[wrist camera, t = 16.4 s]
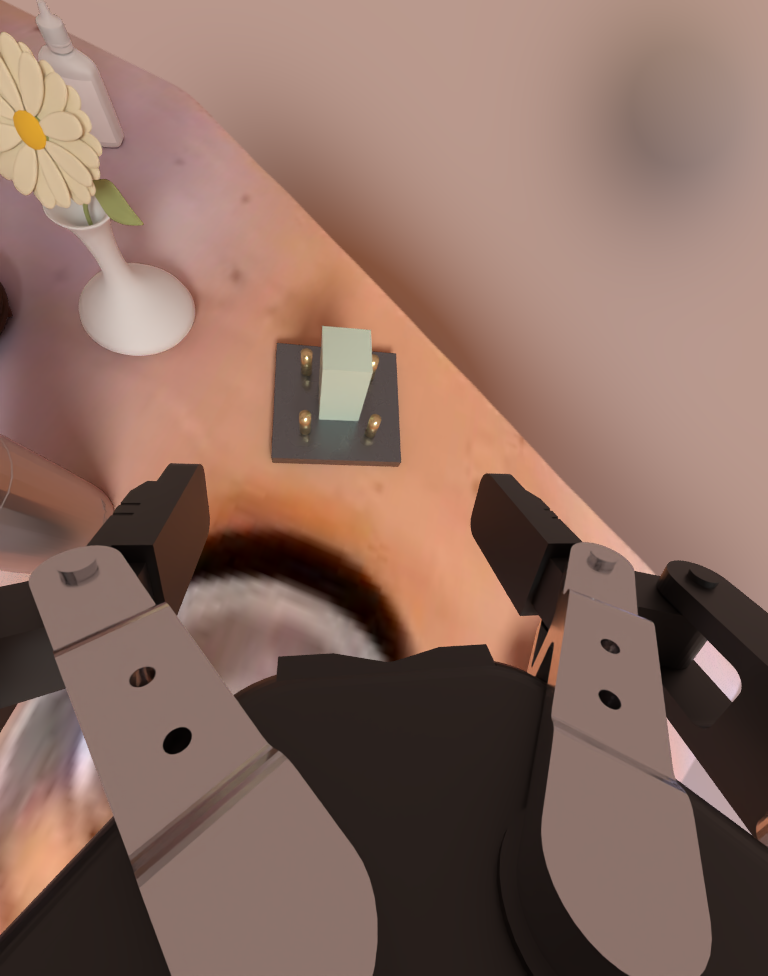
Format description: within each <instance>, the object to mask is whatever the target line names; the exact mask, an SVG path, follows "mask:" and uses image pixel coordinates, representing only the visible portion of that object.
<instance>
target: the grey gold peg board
mask: <svg viewBox="0 0 768 976" xmlns="http://www.w3.org/2000/svg"><path fill="white" fill-rule="evenodd" d="M320 356H321V347H316V346H304V345H293V344H282V343H277V354H276V375H275V395H274V416H273V437H272V457H271V458H272V462H273V463H299V464H330V465H361V466H393V467H398V466H399V465H400V463H401V452H400V430H399V408H398V387H397V365H396V354H394V353H383V352H372V367H373V373H372V377H371V380H370V383H369V387H368V390H367V393H366V397H365V400H364V404H363V407H362V410H361V414H360V417H359V420H358V421H345V420H320V419H319V372H320Z"/></svg>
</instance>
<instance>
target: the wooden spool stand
mask: <svg viewBox="0 0 768 976" xmlns="http://www.w3.org/2000/svg"><path fill="white" fill-rule="evenodd" d="M12 316H13V314H12V311H11V309H10V308H9V305H8V298H7V295H6V292H5V290H4V288H3V286H2V284H1V283H0V334H1V332H2V331H3V329H4V326H5V324H6V321H7V317H8V318H10V317H12Z"/></svg>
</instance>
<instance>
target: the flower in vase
mask: <svg viewBox="0 0 768 976" xmlns="http://www.w3.org/2000/svg"><path fill="white" fill-rule="evenodd" d="M80 109H81V99H80V96H79V94H78V93H77V91H76V90H75V89H74V88H73V87H72V86H70V85H66V84H65V82H64V80H63V79H62V78H61V76H60V75H59V74H57V73H56V72H55V71H54V69H53V68H52V66H51V65H50V64H49V63H48V62H47V61H45V60H40V61H39V62H37V60H36V59H35V57H34V55H33V53H32V52H31V50H30V49H29V48H28V47H27V46H26V45H25V44H24V43H22V42H16V40H15V39H14V38H13V37H12V36H11V35H10V34H8V33H6V32H2V33H1V34H0V174H1V175H2V176H3V177H4V178H5V179H7V180H13V183H14V186H15V188H16V189H17V190H18V191H19V192H20V193H21V194H23V195H29V194H31V193H32V191H33V192H34V194H35V196H36V197H37V199H38V200H40V202H41V203H42V207H43V210H44V212H45V214H46V215H47V217H48V218H49V219H51V220H52V221H53V222H54V223H56V224H58V225H59V226H62V227H64V228H66V229H68V230H70V231H71V232H73V233H74V234H75V235H76V236H77V237H78V238H79V239H80V240H81V241H82V242H83V243H84V244H85V246H86V247H87V248H88V249H89V251H90V252H91V253H92V255H93V256H94V258H95V259H96V261H97V262H98V264H99V266H100V268H101V270H102V271H100V272H98V273H97V274H96V275H94V276H93V277H92V278H91V279H90V280H89V282H88V283H87V284H86V285H85V287H84V288H83V290H82V292H81V295H80V298H79V315H80V320H81V323H82V326H83V328H84V329H85V331H86V332H87V334H88V335H89V336H90V337H91V338H92V339H93V340H94V341H95V342H96V343H98V344H99V345H101V346H102V347H104V348H106V349H108V350H111V351H113V352H116V353H120V354H125V355H132V356H147V355H154V354H158V353H161V352H164V351H166V350H168V349H170V348H172V347H174V346H175V345H177V344H178V343H179V342H181V341H182V340H183V339H184V337H185V336H186V335H187V334H188V332H189V331H190V329H191V328H192V325H193V323H194V319H195V304H194V300H193V298H192V295H191V294H190V292H189V290H188V289H187V288H186V287H185V286H184V285H183V284H182V283H181V282H180V281H179V280H178V279H177V278H176V277H175V276H173V275H172V274H171V273H169V272H167V271H165V270H163V269H160V268H158V267H155V266H151V265H146V264H141V263H127V262H126V261H125V259H124V258H123V256H122V254H121V252H120V250H119V248H118V246H117V243H116V241H115V238H114V235H113V232H112V228H111V219H112V220H114V221H116V222H118V223H121V224H124V225H144V224H143V222H142V221H141V220H140V219H139V218H138V216H137V215H136V214H135V213H134V211H133V210H132V209H131V208H130V206H129V205H128V203H127V202H126V201H125V199H124V198H123V196H122V195H121V193H120V192H119V191H118V189H117V188H116V187H115V186H114V184H113V183H112V182H110V181H109V180H107V179H99V178H100V170H99V168H98V167H99V165H100V161H99V158H98V157H99V156H101V155H102V147H101V144H100V142H99V141H98V139H97V138H96V137H95V136H93V135H92V134H90V132H91V129H92V124H91V121H90V119H89V117H88V115H87V114H86V113H85V112H84V111H82V110H80ZM92 179H94V180H92Z"/></svg>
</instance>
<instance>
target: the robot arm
mask: <svg viewBox="0 0 768 976" xmlns="http://www.w3.org/2000/svg"><path fill="white" fill-rule="evenodd" d="M209 525H210V515H209V506H208V498H207V490H206V481H205V473H204V469H203V466H202V465H201V464H176V463H170V464H169V465H168V466H167V468H166V469H165V471H164V472H163V473H162V475H161V476H160V478H159V479H158V480H157V481H147V482H145V483H143V484H141V485H140V486H138V487H136V488H135V489H133V490H131V491H130V492H129V493H128V494H127V496H126V497H125V498H124V499H123V501H122V502H121V505H119V506H118V507H117V508H116V509H115V511H114V509H113V506H112V504H111V502H110V500H109V498H108V497H107V496H106V494H105V493H104V492H103V491H102V490H100V489H99V488H98V487H96V486H95V485H93V484H91V483H89V482H88V481H86V480H84V479H82V478H80V477H78V476H77V475H75V474H73V473H72V472H70V471H68V470H66V469H64V468H62V467H60V466H59V465H57V464H55V463H53V462H51V461H49V460H48V459H46V458H44V457H42V456H40V455H38V454H37V453H35V452H33V451H31V450H29V449H27V448H25V447H24V446H22V445H20V444H18V443H16V442H14V441H13V440H11V439H9V438H7V437H5V436H3V435H2V434H0V571H8V572H16V573H27V574H31V576H30V578H29V581H26V582H22V583H17V584H12V585H7V586H2V587H0V732H1V730H2V729H3V727H4V725H5V724H6V722H7V720H8V719H9V717H10V715H11V714H12V712H13V710H14V709H15V707H16V705H17V704H18V703H20V702H23V701H27V700H30V699H33V698H36V697H40V696H43V695H46V694H49V693H52V692H56V691H59V690H62V689H65V688H66V689H67V692H68V695H69V698H70V700H71V703H72V706H73V708H74V711H75V714H76V716H77V719H78V722H79V724H80V727H81V730H82V732H83V735H84V738H85V740H86V743H87V746H88V748H89V751H90V754H91V757H92V759H93V762H94V765H95V767H96V770H97V773H98V775H99V778H100V781H101V783H102V786H103V789H104V791H105V794H106V797H107V799H108V802H109V805H110V808H111V810H112V813H113V817H112V818H111V819H110V820H109V821H108V822H107V823H106V824H105V825H104V826H103V828H102V829H101V830H100V831H99V832H98V833H97V834H96V835H95V836H94V837H93V838H92V839H91V840H90V841H89V842H88V843H87V844H86V845H85V846H84V848H83V849H82V850H81V851H80V852H79V853H78V854H77V855H76V856H75V857H74V858H73V859H72V860H71V861H70V862H69V863H68V864H67V865H66V866H65V868H64V869H63V870H62V871H61V872H60V873H59V874H58V875H57V876H56V877H55V878H54V879H53V880H52V881H51V882H50V883H49V884H48V885H47V886H46V888H45V889H44V890H43V891H42V892H41V893H40V894H39V895H38V896H37V897H36V898H35V899H34V900H33V901H32V902H31V903H30V904H29V905H28V906H27V907H26V909H25V910H24V911H23V912H22V913H21V914H20V915H19V916H18V917H17V918H16V919H15V920H14V921H13V922H12V923H11V924H10V925H9V926H8V927H7V929H6V930H5V931H4V932H3V933H2V934H1V935H0V976H768V613H767V612H766V611H764V610H763V609H762V608H761V607H760V606H758V605H757V604H756V603H754V602H753V601H752V600H751V599H749V597H747V596H746V595H745V594H744V593H742V592H741V591H740V590H739V589H737V588H736V587H735V586H733V585H732V584H731V583H730V582H728V581H727V580H726V579H725V578H723V577H722V576H720V575H719V574H717V573H715V572H713V571H712V570H710V569H707V568H705V567H703V566H700V565H698V564H695V563H691V562H686V561H671V562H669V563H668V564H667V566H666V568H665V569H664V571H663V573H662V574H661V576H656V575H651V574H646V573H641V572H637V571H634V568H633V566H632V565H631V563H630V562H629V561H628V560H627V559H626V558H624V557H623V556H622V555H620V554H619V553H617V552H616V551H614V550H612V549H610V548H607V547H605V546H602V545H599V544H595V543H588V542H582V541H581V540H580V539H579V538H578V537H577V536H576V535H575V534H574V533H573V532H572V531H571V530H570V529H569V528H568V527H567V526H566V525H565V524H564V523H563V522H562V521H561V520H560V519H558V516H557V515H556V514H555V513H554V512H553V511H550V508H549V507H548V506H547V505H546V504H545V503H544V502H543V501H542V500H541V499H540V498H538V497H536V496H535V495H533V494H531V493H530V492H528V491H526V490H525V489H524V488H523V487H522V486H521V485H520V484H519V483H518V481H517V480H516V479H515V478H514V477H513V476H512V475H510V474H488V473H487V474H484V475H483V477H482V479H481V481H480V485H479V489H478V493H477V497H476V500H475V504H474V508H473V512H472V516H471V532H472V535H473V537H474V539H475V541H476V542H477V544H478V546H479V547H480V549H481V551H482V552H483V554H484V556H485V558H486V559H487V561H488V563H489V564H490V566H491V568H492V569H493V571H494V573H495V574H496V576H497V578H498V580H499V581H500V583H501V585H502V586H503V588H504V590H505V591H506V593H507V595H508V596H509V598H510V600H511V602H512V603H513V605H514V607H515V608H516V610H517V612H518V613H519V615H520V616H530V615H539V616H540V618H541V621H540V623H539V625H538V628H537V631H536V635H535V639H534V644H533V648H532V652H531V656H530V661H529V665H528V669H527V672H525V671H523V670H521V669H518V668H516V667H513V666H511V665H507V664H503V663H500V662H495V661H494V660H493V658H492V656H491V654H490V652H489V649H488V647H487V645H486V644H483V645H467V646H450V647H438V648H435V649H432V650H429V651H425V652H422V653H419V654H416V655H413V656H410V657H407V658H404V659H400V660H397V661H394V662H382V661H376V660H370V659H364V658H358V657H352V656H346V655H340V654H334V653H333V654H316V655H299V656H282V657H278V667H277V675H274V676H271V677H268V678H265V679H263V680H261V681H258V682H256V683H254V684H252V685H250V686H248V687H246V688H244V689H243V690H241V691H239V692H238V693H236V694H235V695H233V694H232V693H231V691H230V690H229V689H228V687H227V686H226V684H225V683H224V682H223V680H222V679H221V677H220V676H219V675H218V673H217V672H216V670H215V669H214V668H213V666H212V665H211V663H210V662H209V661H208V659H207V658H206V656H205V655H204V654H203V652H202V651H201V649H200V648H199V646H198V645H197V644H196V642H195V641H194V639H193V638H192V637H191V635H190V634H189V632H188V631H187V630H186V628H185V627H184V625H183V624H182V623H181V621H180V620H179V618H178V617H177V614H178V612H179V609H180V606H181V604H182V601H183V599H184V596H185V593H186V591H187V588H188V586H189V583H190V581H191V578H192V575H193V573H194V570H195V568H196V565H197V562H198V560H199V557H200V555H201V552H202V549H203V547H204V544H205V542H206V539H207V536H208V532H209ZM707 640H708V641H709V642H710V643H711V644H712V645H713V646H714V647H715V648H716V649H717V650H718V651H719V652H720V653H721V654H722V655H723V656H724V657H725V658H726V659H727V660H728V661H729V662H730V663H731V665H732V666H733V667H734V668H735V669H736V671H737V672H738V674H739V676H740V679H741V683H742V689H741V693H740V694H739V695H738V697H737V698H736V699H735V700H734V701H733V702H731V701H730V700H729V699H728V697H727V696H726V695H725V694H724V693H723V692H722V691H721V690H720V689H719V687H718V686H717V685H716V684H715V683H714V682H713V681H712V680H711V679H710V677H709V676H708V675H707V674H706V673H705V672H704V671H703V670H702V669H701V667H700V666H699V665H698V664H697V663H696V662H695V661H694V660H693V659H694V658H695V656H696V655H697V654H698V652H699V651H700V650H701V648H702V647H703V645H704V644H705V643H706V641H707ZM666 717H667V719H668V720H669V721H670V723H671V724H672V725H673V727H674V728H675V730H676V731H677V732H678V734H679V735H680V736H681V738H682V739H683V741H684V742H685V743H686V745H687V746H688V747H689V749H690V750H691V752H692V753H693V754H694V756H695V757H696V758H697V760H698V761H699V763H700V764H701V765H702V767H703V768H704V769H705V771H706V772H707V773H708V775H709V776H710V778H711V779H712V780H713V782H714V783H715V785H716V786H717V787H718V789H719V790H720V791H721V793H722V794H723V796H724V797H725V798H726V800H727V801H728V802H729V804H730V805H731V807H732V808H733V809H734V811H735V812H736V813H737V815H738V816H739V818H740V819H741V820H742V821H743V823H744V824H745V826H746V827H747V829H748V830H749V831H750V833H751V834H752V835H753V836H752V835H751V834H749V833H748V832H747V831H745V830H744V829H743V828H741V827H740V826H739V825H737V824H736V823H734V822H733V821H732V820H730V819H729V818H728V817H726V816H725V815H724V814H722V813H721V812H720V811H718V810H717V809H716V808H714V807H713V806H712V805H710V804H709V803H707V802H706V801H705V800H703V799H702V798H701V797H699V796H698V795H696V794H695V793H694V792H693V791H691V790H690V789H689V788H687V787H686V786H685V785H683V784H682V783H681V782H679V781H678V780H676V779H675V776H674V772H673V766H672V758H671V750H670V742H669V734H668V727H667V719H666Z"/></svg>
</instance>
